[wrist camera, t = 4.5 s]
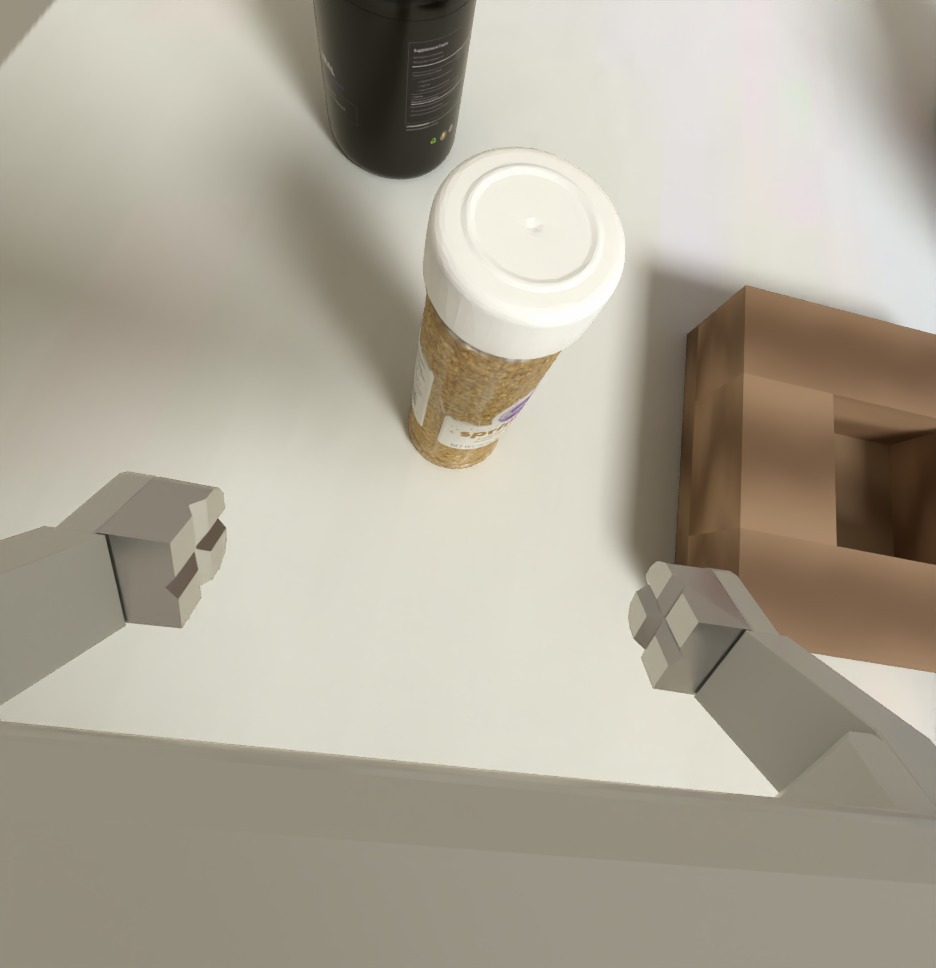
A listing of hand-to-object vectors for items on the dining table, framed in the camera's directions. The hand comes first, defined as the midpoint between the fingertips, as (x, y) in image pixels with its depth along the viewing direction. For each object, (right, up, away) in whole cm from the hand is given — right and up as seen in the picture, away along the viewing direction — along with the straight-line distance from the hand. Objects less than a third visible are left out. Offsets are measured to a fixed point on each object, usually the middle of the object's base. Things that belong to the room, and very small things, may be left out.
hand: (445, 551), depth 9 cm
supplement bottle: (-4, +21, +17) cm, 27 cm away
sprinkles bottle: (0, +4, +14) cm, 15 cm away
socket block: (+19, 0, +17) cm, 25 cm away
